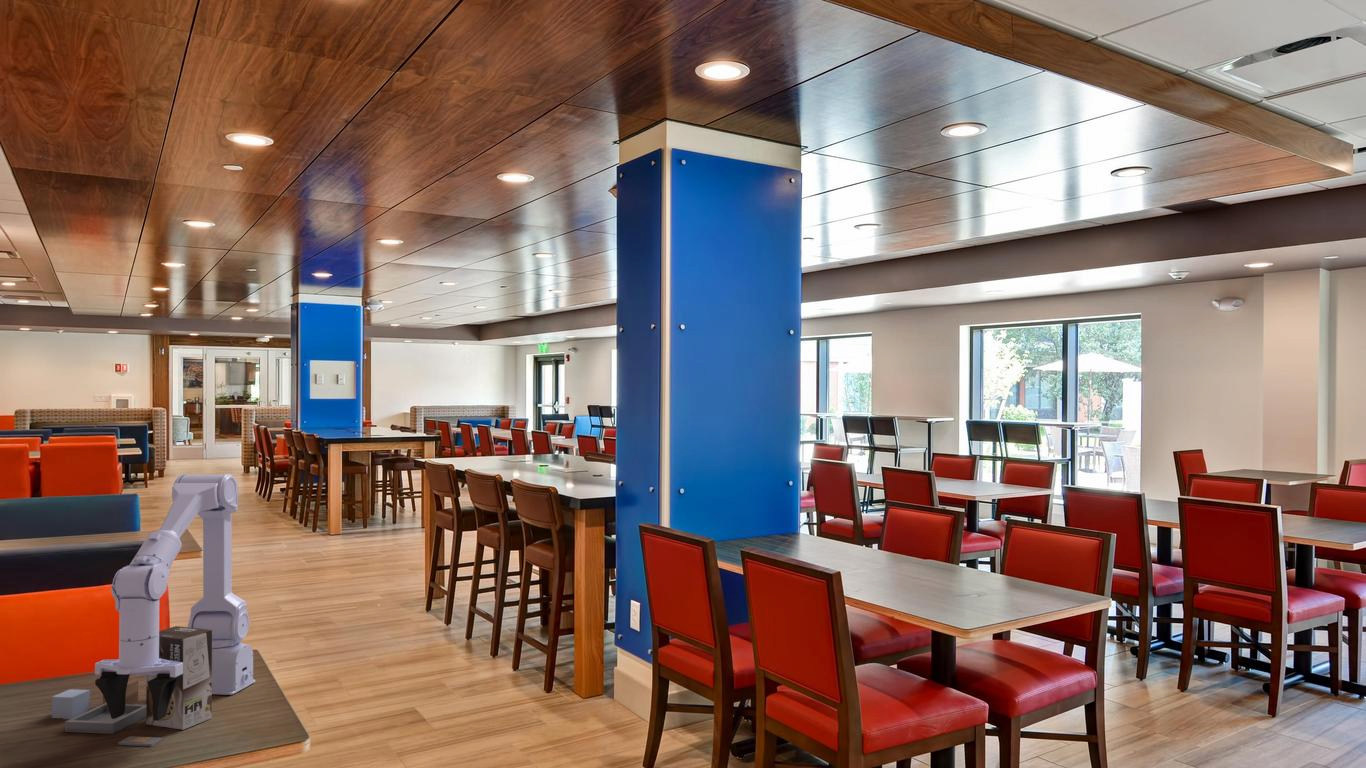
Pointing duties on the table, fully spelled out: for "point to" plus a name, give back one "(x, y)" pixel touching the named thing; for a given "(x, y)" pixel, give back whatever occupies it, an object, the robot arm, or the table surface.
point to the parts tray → (105, 719)
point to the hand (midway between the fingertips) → (138, 717)
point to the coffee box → (186, 677)
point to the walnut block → (130, 692)
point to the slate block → (70, 703)
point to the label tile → (140, 741)
